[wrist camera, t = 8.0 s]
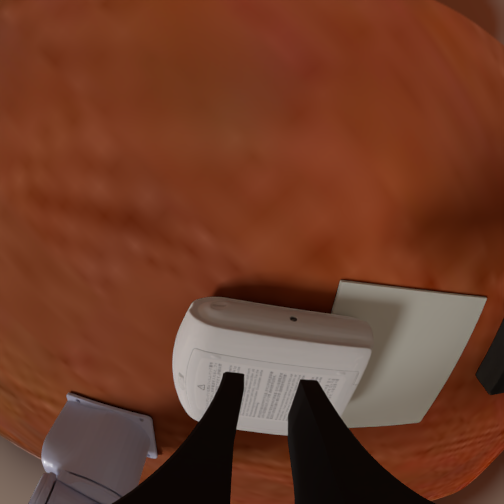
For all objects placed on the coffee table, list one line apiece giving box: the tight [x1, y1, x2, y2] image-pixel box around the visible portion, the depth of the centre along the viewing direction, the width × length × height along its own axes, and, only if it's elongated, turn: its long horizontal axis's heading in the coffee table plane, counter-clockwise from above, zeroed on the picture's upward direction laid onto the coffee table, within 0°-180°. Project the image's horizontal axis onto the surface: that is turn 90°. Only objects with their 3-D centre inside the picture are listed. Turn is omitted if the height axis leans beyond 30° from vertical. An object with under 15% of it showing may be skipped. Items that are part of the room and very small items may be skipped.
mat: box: [331, 280, 487, 428], centre depth 22 cm, size 14×15×1 cm
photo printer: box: [172, 297, 374, 436], centre depth 20 cm, size 10×4×12 cm
